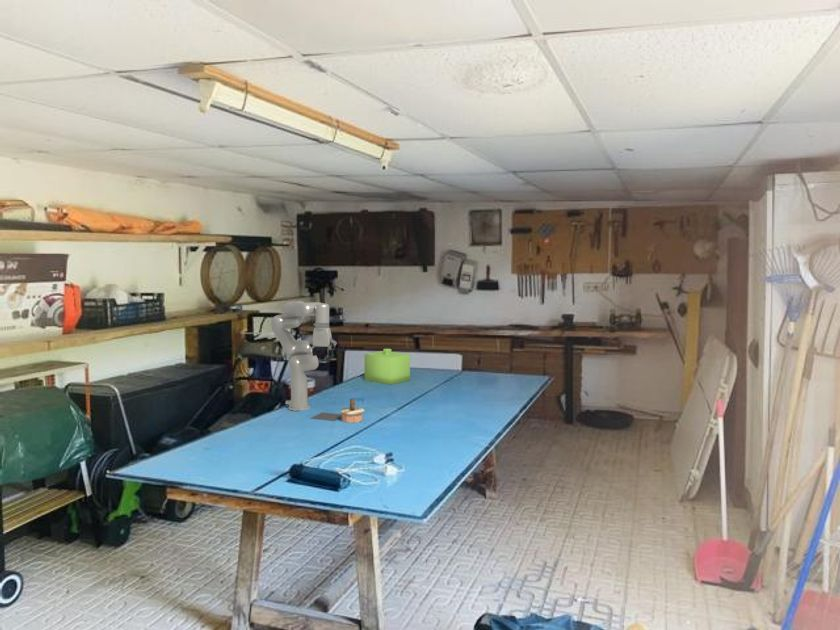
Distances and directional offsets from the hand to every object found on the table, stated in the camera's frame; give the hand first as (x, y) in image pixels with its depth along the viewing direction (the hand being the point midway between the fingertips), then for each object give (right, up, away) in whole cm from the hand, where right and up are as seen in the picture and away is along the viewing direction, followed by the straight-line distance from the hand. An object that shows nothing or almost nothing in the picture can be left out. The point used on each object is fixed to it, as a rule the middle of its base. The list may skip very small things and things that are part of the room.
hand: (322, 356), depth 365 cm
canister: (+31, -25, +110) cm, 117 cm away
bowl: (+17, -35, -6) cm, 40 cm away
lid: (+17, -30, -6) cm, 35 cm away
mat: (+3, -34, +1) cm, 35 cm away
